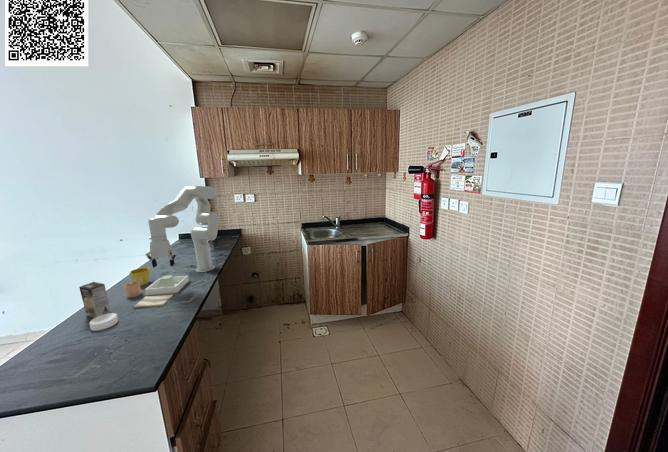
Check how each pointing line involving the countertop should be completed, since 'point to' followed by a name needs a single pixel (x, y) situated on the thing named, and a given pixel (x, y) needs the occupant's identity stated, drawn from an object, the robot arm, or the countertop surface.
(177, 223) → the robot arm
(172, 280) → the sage block
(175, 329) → the countertop surface
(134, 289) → the terracotta cup
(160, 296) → the pad
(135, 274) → the plant pot
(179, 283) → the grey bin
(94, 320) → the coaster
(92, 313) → the coffee box
